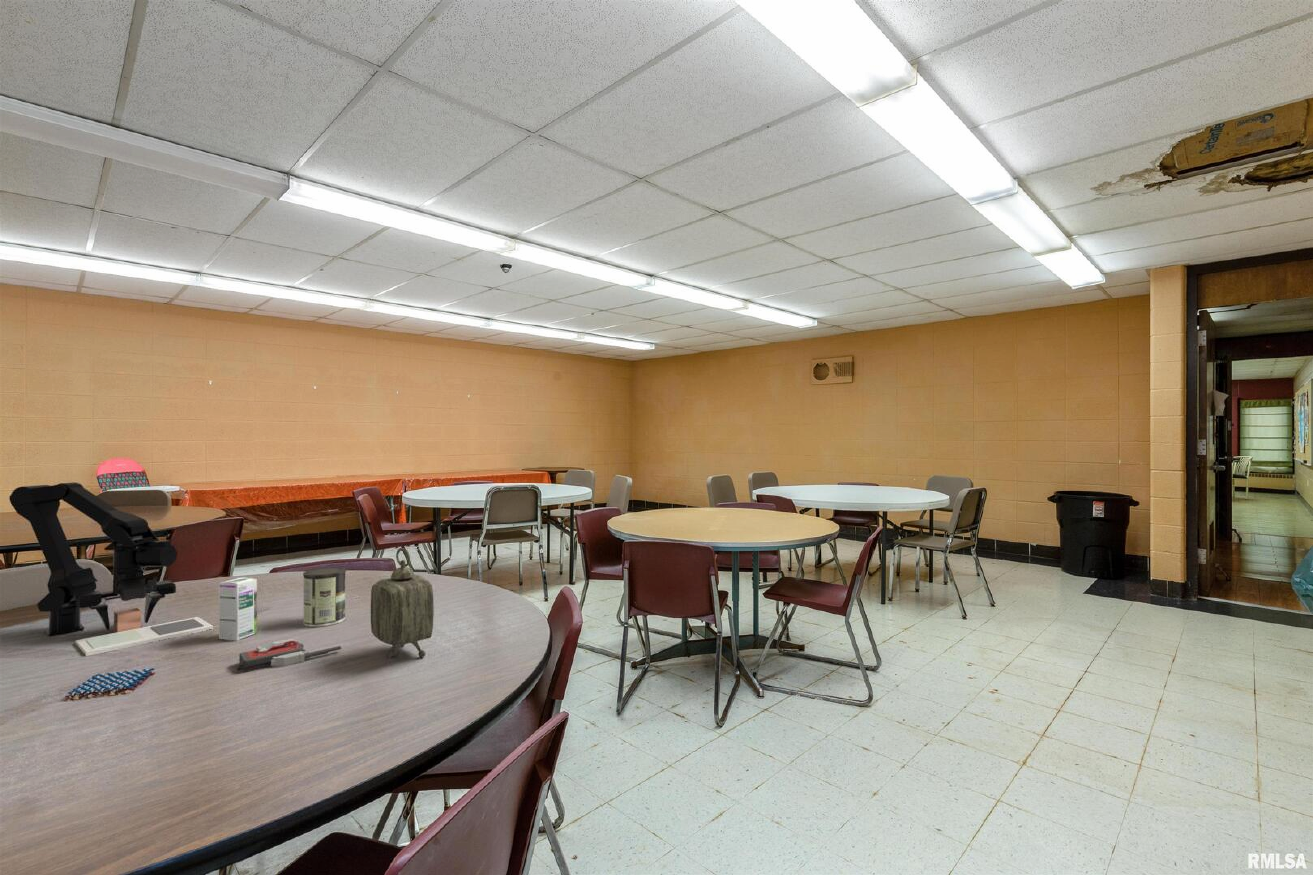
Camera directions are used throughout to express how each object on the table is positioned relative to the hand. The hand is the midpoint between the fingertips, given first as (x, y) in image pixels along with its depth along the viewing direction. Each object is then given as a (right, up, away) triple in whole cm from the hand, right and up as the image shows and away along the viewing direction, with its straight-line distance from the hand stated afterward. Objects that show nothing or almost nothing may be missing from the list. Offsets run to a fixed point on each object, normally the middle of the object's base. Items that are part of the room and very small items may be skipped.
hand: (127, 626), depth 149 cm
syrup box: (+32, -2, -4) cm, 32 cm away
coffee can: (+47, -2, +9) cm, 47 cm away
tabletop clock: (+79, -2, -15) cm, 80 cm away
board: (+9, -1, -4) cm, 10 cm away
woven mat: (+28, -2, -34) cm, 44 cm away
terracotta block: (0, -1, 0) cm, 1 cm away
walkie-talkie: (+54, -2, -18) cm, 57 cm away
